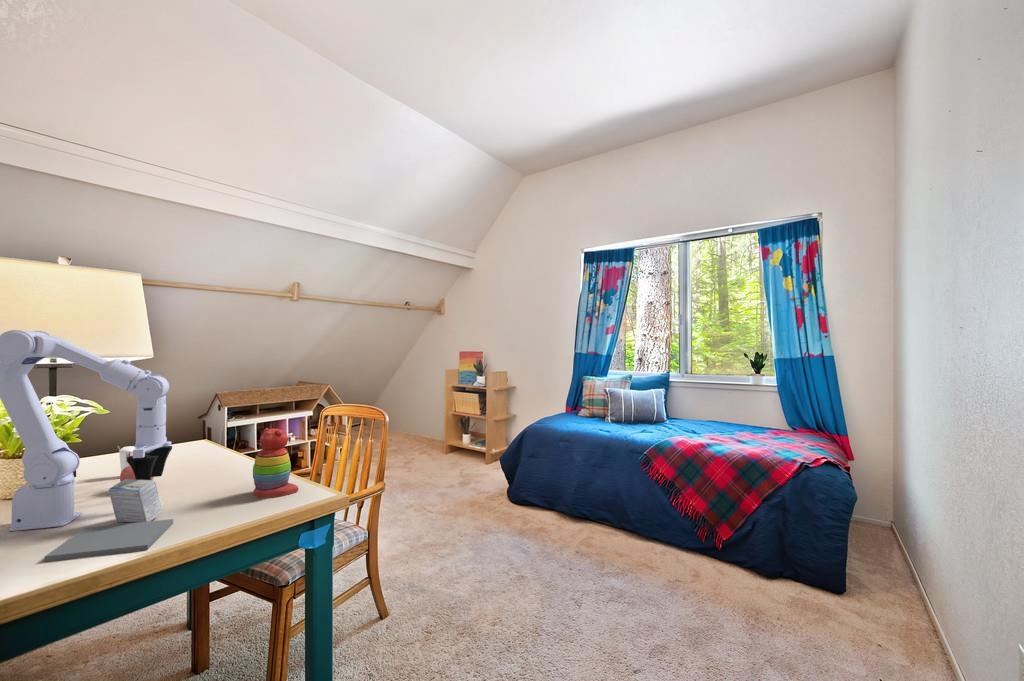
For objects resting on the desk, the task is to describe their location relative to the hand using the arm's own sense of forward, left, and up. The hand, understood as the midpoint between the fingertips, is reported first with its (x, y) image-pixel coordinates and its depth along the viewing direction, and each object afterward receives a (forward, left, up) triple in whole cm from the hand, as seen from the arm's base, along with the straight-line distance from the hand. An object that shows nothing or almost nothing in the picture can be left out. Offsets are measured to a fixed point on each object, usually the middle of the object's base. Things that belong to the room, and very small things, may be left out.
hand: (150, 480), depth 111 cm
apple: (-10, +21, -8) cm, 24 cm away
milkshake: (-18, +36, -8) cm, 41 cm away
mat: (0, -17, -8) cm, 19 cm away
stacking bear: (+26, +7, -8) cm, 28 cm away
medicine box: (0, -5, -7) cm, 9 cm away
